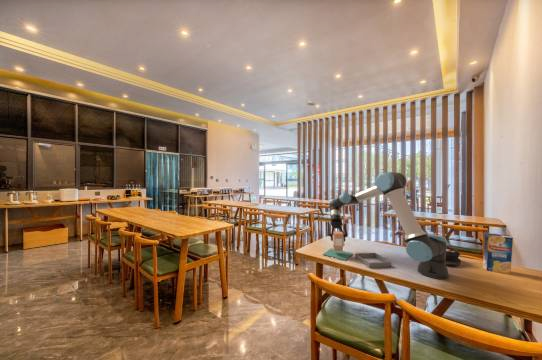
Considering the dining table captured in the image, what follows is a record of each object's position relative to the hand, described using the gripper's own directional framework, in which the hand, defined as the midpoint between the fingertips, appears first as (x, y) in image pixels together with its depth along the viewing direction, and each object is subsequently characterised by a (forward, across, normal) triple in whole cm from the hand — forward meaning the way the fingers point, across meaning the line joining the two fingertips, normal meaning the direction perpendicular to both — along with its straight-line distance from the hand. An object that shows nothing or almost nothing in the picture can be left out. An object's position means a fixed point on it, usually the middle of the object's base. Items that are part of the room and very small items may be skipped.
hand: (338, 245), depth 162 cm
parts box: (0, 0, -6) cm, 6 cm away
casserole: (+2, -71, -9) cm, 72 cm away
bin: (+10, -20, -1) cm, 23 cm away
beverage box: (+11, -94, 0) cm, 95 cm away
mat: (+3, 0, -8) cm, 9 cm away
